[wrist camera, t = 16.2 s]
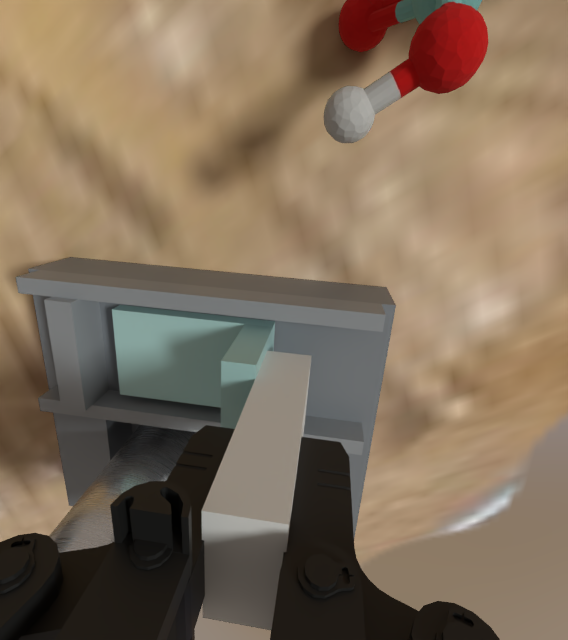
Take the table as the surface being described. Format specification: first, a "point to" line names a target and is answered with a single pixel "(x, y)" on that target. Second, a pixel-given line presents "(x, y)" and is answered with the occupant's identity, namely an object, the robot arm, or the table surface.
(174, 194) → the table surface
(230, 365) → the lid
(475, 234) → the table surface
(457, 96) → the table surface
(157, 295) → the housing
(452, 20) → the molecular model
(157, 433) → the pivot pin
